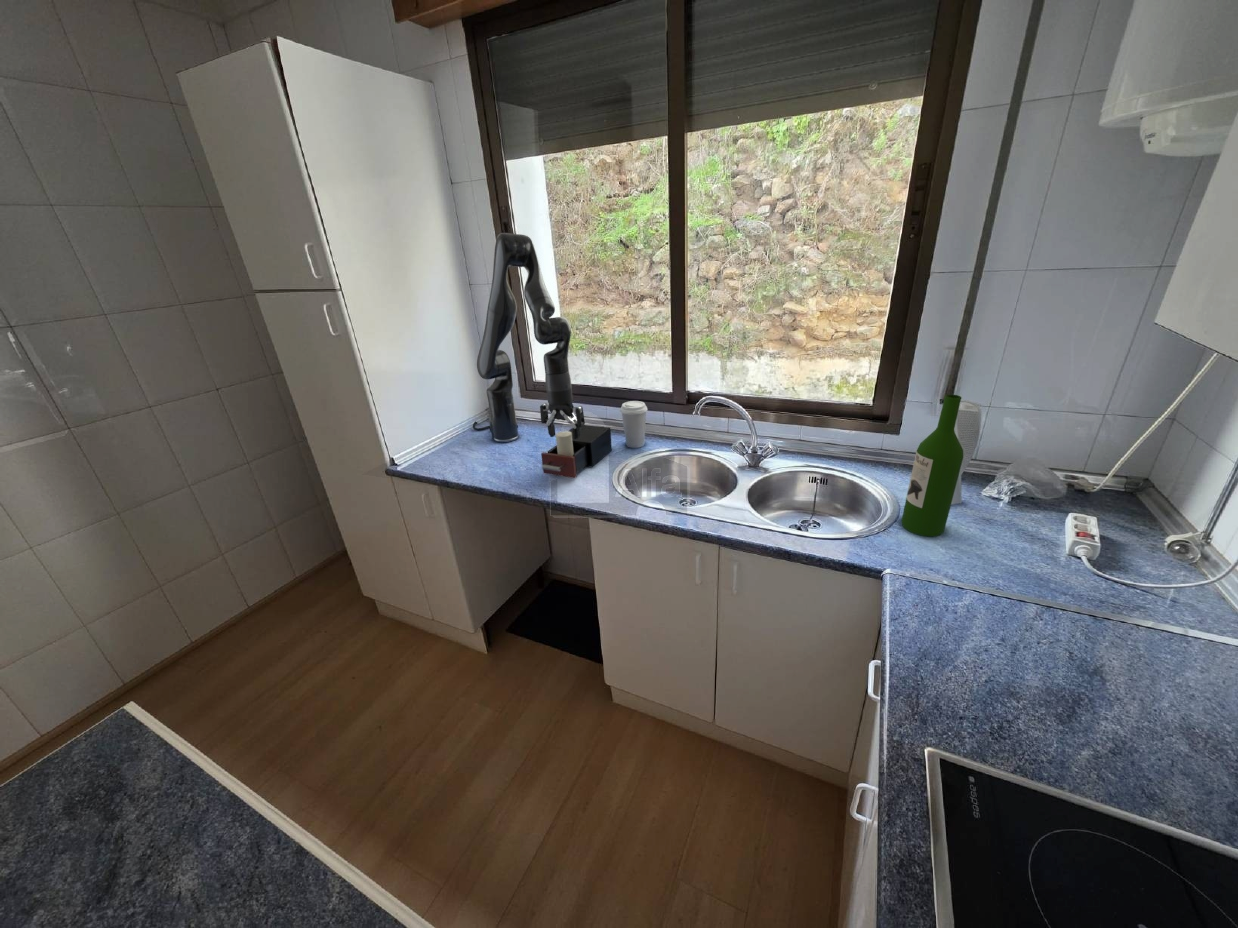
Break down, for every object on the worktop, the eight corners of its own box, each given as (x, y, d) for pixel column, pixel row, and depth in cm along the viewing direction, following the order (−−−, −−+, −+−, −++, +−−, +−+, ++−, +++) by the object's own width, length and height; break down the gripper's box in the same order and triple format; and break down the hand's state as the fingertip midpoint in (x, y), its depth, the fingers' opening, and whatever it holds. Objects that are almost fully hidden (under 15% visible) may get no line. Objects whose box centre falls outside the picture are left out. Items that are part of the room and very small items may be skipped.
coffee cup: (617, 442, 177) (615, 403, 171) (641, 437, 180) (639, 398, 174) (629, 451, 169) (627, 410, 163) (653, 445, 172) (652, 405, 166)
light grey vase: (941, 509, 124) (968, 403, 112) (919, 496, 130) (942, 395, 119) (968, 504, 125) (997, 399, 114) (945, 491, 132) (970, 391, 120)
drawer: (568, 484, 146) (565, 463, 143) (536, 478, 151) (533, 458, 148) (594, 461, 161) (593, 442, 158) (565, 456, 165) (563, 438, 163)
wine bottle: (892, 521, 120) (918, 393, 107) (922, 514, 122) (952, 388, 108) (921, 539, 112) (953, 404, 99) (953, 533, 114) (989, 399, 101)
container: (556, 468, 155) (552, 435, 150) (564, 461, 159) (560, 430, 154) (569, 470, 153) (566, 437, 148) (577, 463, 157) (574, 431, 152)
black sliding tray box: (592, 467, 159) (590, 442, 155) (559, 462, 164) (556, 438, 160) (611, 450, 171) (610, 427, 167) (580, 446, 176) (578, 424, 172)
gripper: (585, 385, 145) (590, 435, 152) (545, 382, 151) (551, 431, 158) (573, 391, 139) (578, 444, 146) (531, 388, 145) (538, 439, 152)
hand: (564, 437), depth 152 cm, fingers open, 8 cm apart
